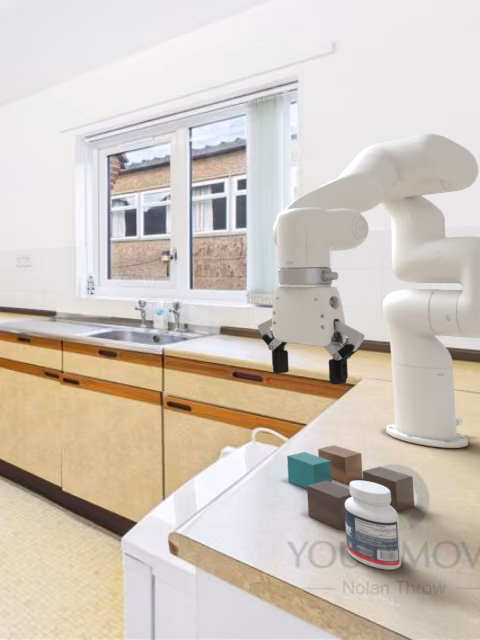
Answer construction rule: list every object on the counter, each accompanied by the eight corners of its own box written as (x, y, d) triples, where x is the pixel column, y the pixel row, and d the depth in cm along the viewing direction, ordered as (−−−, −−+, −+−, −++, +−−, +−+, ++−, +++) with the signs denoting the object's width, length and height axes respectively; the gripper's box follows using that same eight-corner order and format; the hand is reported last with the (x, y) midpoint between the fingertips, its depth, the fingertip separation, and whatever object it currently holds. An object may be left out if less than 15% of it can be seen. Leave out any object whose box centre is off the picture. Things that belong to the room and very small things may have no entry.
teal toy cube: (305, 477, 84) (304, 451, 84) (332, 487, 80) (331, 460, 80) (288, 481, 82) (287, 455, 83) (314, 492, 78) (313, 465, 79)
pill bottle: (350, 541, 64) (347, 474, 64) (403, 557, 60) (399, 486, 61) (343, 558, 60) (339, 486, 61) (398, 576, 57) (394, 500, 57)
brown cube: (327, 509, 73) (326, 480, 73) (360, 523, 68) (358, 492, 69) (308, 515, 71) (306, 485, 71) (340, 530, 67) (338, 498, 67)
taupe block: (381, 494, 77) (379, 466, 77) (414, 506, 73) (413, 476, 73) (363, 499, 76) (362, 470, 76) (397, 511, 72) (395, 481, 72)
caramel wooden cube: (335, 469, 87) (334, 445, 87) (362, 479, 83) (361, 453, 83) (319, 473, 85) (318, 448, 86) (346, 483, 81) (344, 457, 81)
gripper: (374, 278, 77) (379, 386, 76) (272, 279, 93) (275, 367, 92) (344, 279, 74) (348, 390, 73) (244, 279, 90) (247, 370, 90)
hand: (308, 377), depth 83 cm, fingers open, 9 cm apart
